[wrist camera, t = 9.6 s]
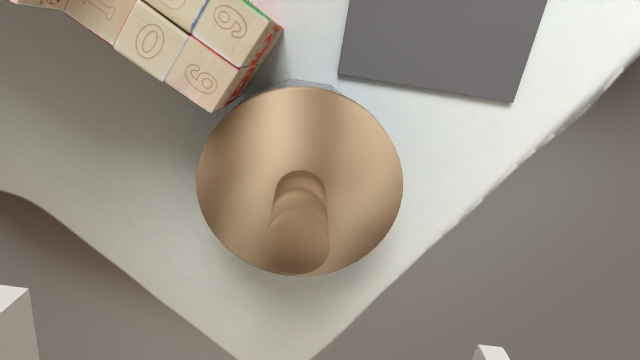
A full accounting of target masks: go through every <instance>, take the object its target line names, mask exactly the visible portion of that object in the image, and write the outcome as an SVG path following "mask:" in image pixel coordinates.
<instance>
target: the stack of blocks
mask: <svg viewBox="0 0 640 360" xmlns="http://www.w3.org/2000/svg"><path fill="white" fill-rule="evenodd" d="M10 1H11V2H13V3H14V4H17V5H24V6H31V7H38V8H45V9H51V10H59V11H62V12H64V13H65V14H66V15H68V16H69V17H71V18H72V19H74V20H75V21H77V22H78V23H79V24H81V25H82V26H84V27H85V28H87V29H88V30H90V31H91V32H93V33H94V34H95V35H97V36H98V37H100V38H101V39H103V40H104V41H105V42H107V43H108V44H110V45H112V46H113V47H114V49H115V50H116V51H117V52H119V53H120V54H122V55H123V56H124V57H126V58H127V59H129V60H130V61H132V62H133V63H134V64H136V65H137V66H139V67H140V68H142V69H143V70H145V71H146V72H147V73H149V74H150V75H152V76H153V77H155V78H156V79H158V80H159V81H161V82H166V83H167V84H169V85H170V86H171V87H172V88H174V89H175V90H177V91H178V92H180V93H181V94H183V95H184V96H186V97H187V98H188V99H190V100H191V101H193V102H194V103H196V104H197V105H198V106H200V107H201V108H203V109H204V110H206V111H207V112H209V113H213V112H215V111H216V110H218V109H220V108H222V107H223V106H224V107H225V106H227V105H228V104H230V103H231V102H232V101H234V100H235V99H236V98H238V97H239V96H241V95H242V94H243V92H244V91H245V89H246V88H247V86H248V85H249V83H250V82H251V80H252V79H253V77H254V76H255V74H256V72H257V71H258V69H259V68H260V66H261V65H262V63H263V62H264V61H265V59H266V58H267V56H268V55H269V53H270V52H271V50H272V49H273V47H274V46H275V44H276V43H277V41H278V39H279V38H280V36H281V34H282V33H283V31H284V29H283V28H282V27H281V26H279V25H278V24H277V23H275V22H274V21H273V20H271V19H270V18H269V17H268V16H266V15H265V14H264V13H263V12H261V11H260V10H259V9H258V8H256V7H255V6H254V5H253V4H251V3H250V2H249V0H10Z"/></svg>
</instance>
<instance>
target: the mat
mask: <svg viewBox="0 0 640 360" xmlns="http://www.w3.org/2000/svg"><path fill="white" fill-rule="evenodd" d="M546 3H547V0H350V3H349V9H348V15H347V21H346V27H345V33H344V39H343V45H342V51H341V57H340V63H339V69H338V74H341V75H347V76H353V77H359V78H365V79H372V80H378V81H384V82H390V83H396V84H402V85H408V86H414V87H420V88H426V89H432V90H438V91H445V92H451V93H457V94H463V95H469V96H475V97H481V98H487V99H493V100H499V101H505V102H512V103H513V102H514V99H515V96H516V93H517V90H518V87H519V84H520V81H521V78H522V75H523V72H524V69H525V66H526V63H527V60H528V57H529V54H530V51H531V48H532V45H533V42H534V39H535V36H536V33H537V30H538V27H539V24H540V21H541V18H542V15H543V12H544V9H545V6H546Z"/></svg>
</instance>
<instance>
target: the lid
mask: <svg viewBox="0 0 640 360" xmlns="http://www.w3.org/2000/svg"><path fill="white" fill-rule="evenodd" d="M196 183H197V195H198V200H199V205H200V207H201V210H202V213H203V216H204V218H205V220H206V222H207V224H208V226H209V227H210V229H211V230H212V232H213V233H214V235H215V236H216V237H217V238H218V239H219V241H220V242H221V243H222V244H223V245H224V246H225V247H226V248H227V249H228V250H230V251H231V252H232V253H233V254H235V255H236V256H238V257H239V258H240V259H242V260H244V261H245V262H247V263H249V264H251V265H253V266H255V267H258V268H260V269H263V270H266V271H269V272H273V273H277V274H282V275H290V276H313V275H319V274H325V273H329V272H333V271H336V270H339V269H341V268H344V267H347V266H348V265H350V264H352V263H354V262H356V261H358V260H359V259H361V258H362V257H364V256H365V255H367V254H368V253H369V252H370V251H371V250H373V249H374V248H375V247H376V246H377V245H378V244H379V243H380V242H381V241H382V239H383V238H384V237H385V236H386V234H387V233H388V231H389V230H390V228H391V226H392V225H393V223H394V221H395V219H396V216H397V214H398V211H399V208H400V204H401V199H402V193H403V176H402V168H401V164H400V160H399V157H398V154H397V152H396V149H395V147H394V145H393V143H392V141H391V140H390V138H389V136H388V134H387V133H386V131H385V130H384V128H383V127H382V126H381V124H380V123H379V122H378V121H377V119H376V118H375V117H374V116H372V115H371V114H370V113H369V112H368V111H367V110H366V109H365V108H363V107H362V106H361V105H359V104H358V103H356V102H355V101H353V100H351V99H349V98H347V97H346V96H344V95H341V94H338V93H336V92H333V91H330V90H326V89H322V88H317V87H308V86H288V87H282V88H276V89H272V90H269V91H265V92H262V93H259V94H257V95H255V96H253V97H251V98H249V99H247V100H245V101H244V102H242V103H241V104H239V105H238V106H236V107H235V108H234V109H233V110H232V111H231V112H229V113H228V114H227V115H226V116H225V117H224V118H223V120H222V121H221V122H220V123H219V124H218V126H217V127H216V128H215V129H214V130H213V132H212V133H211V135H210V137H209V138H208V140H207V141H206V143H205V146H204V148H203V150H202V153H201V156H200V160H199V163H198V168H197V177H196Z"/></svg>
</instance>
